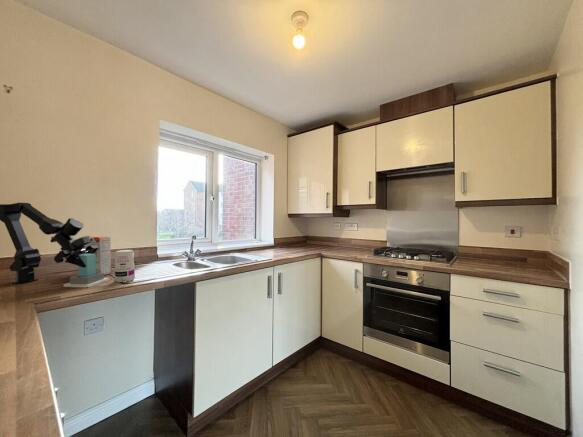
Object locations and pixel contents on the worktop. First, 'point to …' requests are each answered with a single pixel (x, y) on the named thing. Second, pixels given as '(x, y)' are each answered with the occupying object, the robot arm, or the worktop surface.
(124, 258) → the supplement can
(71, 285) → the mounting plate
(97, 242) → the cracker box
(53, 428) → the worktop surface
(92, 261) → the peg
